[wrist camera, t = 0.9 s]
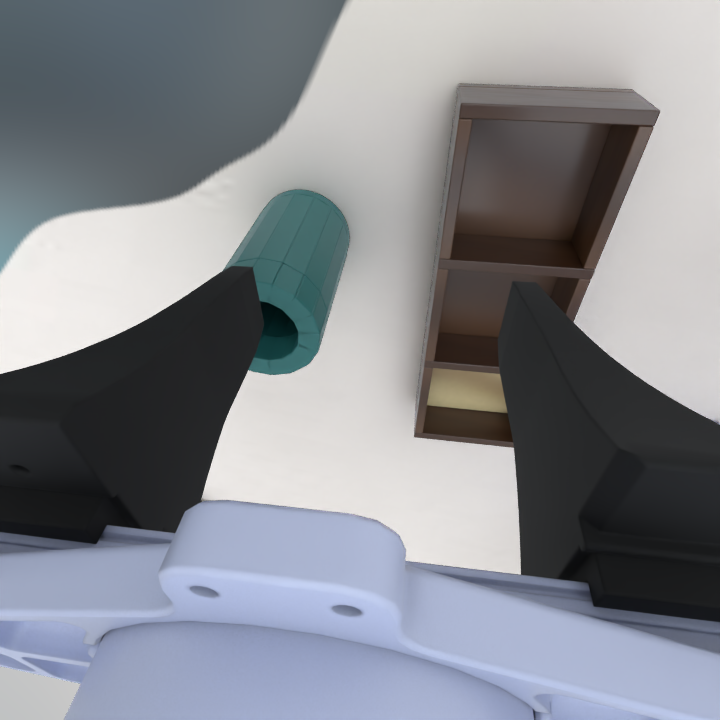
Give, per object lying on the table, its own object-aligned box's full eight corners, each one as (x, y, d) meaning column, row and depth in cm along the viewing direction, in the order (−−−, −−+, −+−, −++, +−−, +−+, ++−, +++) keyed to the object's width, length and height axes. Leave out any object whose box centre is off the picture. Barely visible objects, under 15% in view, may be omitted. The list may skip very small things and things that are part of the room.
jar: (359, 265, 24) (334, 369, 18) (280, 278, 25) (233, 379, 19) (334, 180, 21) (295, 271, 15) (246, 199, 22) (178, 290, 16)
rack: (515, 411, 30) (521, 448, 28) (415, 402, 31) (413, 437, 28) (633, 89, 17) (661, 110, 15) (458, 83, 18) (460, 103, 16)
